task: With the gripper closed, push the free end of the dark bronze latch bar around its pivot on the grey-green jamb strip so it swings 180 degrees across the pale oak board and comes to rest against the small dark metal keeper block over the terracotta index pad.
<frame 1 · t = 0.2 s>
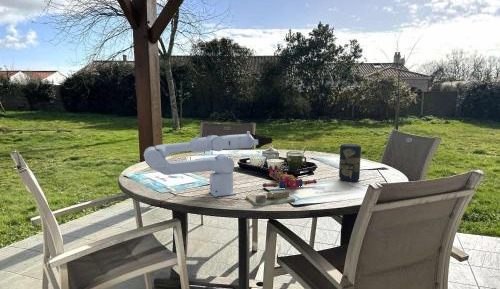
hand: (268, 139, 153), 22 cm above the table, tool horizontal, fingers open, 7 cm apart
toy: (283, 184, 166), on the table
swing latch: (277, 194, 139), point 3 cm above the table, hinge at 0.0°
door board: (268, 198, 143), on the table
canister: (349, 180, 173), on the table
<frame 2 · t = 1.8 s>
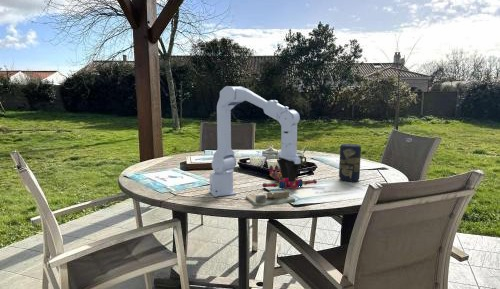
hand: (288, 179, 134), 9 cm above the table, tool pointing down, fingers open, 5 cm apart
nothing on the table moved.
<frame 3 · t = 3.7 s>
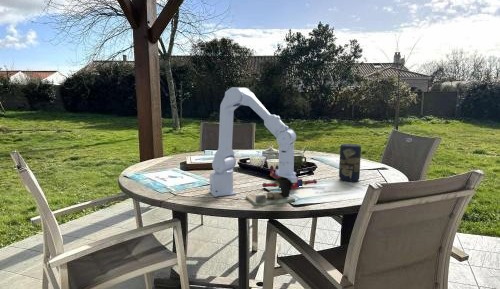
hand: (285, 196, 138), 2 cm above the table, tool pointing down, fingers closed, pressing on swing latch
swing latch: (277, 194, 139), point 3 cm above the table, hinge at 0.0°, touching gripper
everything else where it was.
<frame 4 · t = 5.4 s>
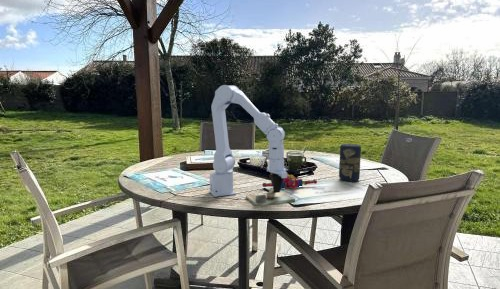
hand: (277, 192, 143), 2 cm above the table, tool pointing down, fingers closed, pressing on swing latch
swing latch: (271, 192, 141), point 3 cm above the table, hinge at 58.0°, touching gripper
everything else where it was.
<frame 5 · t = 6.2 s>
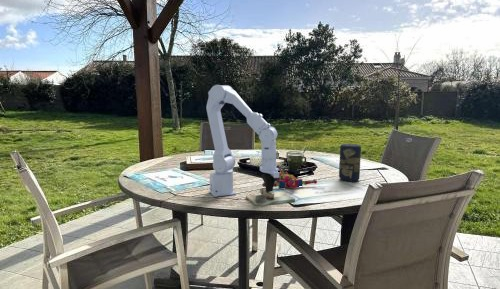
hand: (269, 192, 143), 2 cm above the table, tool pointing down, fingers closed, pressing on swing latch
swing latch: (267, 192, 141), point 3 cm above the table, hinge at 91.2°, touching gripper
everything else where it was.
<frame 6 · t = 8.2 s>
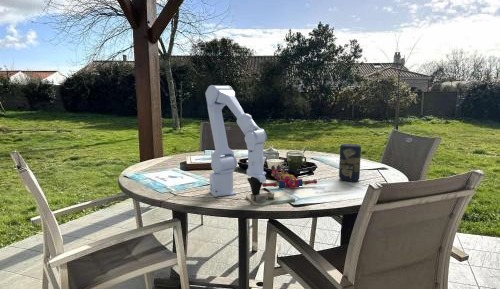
hand: (255, 196, 138), 2 cm above the table, tool pointing down, fingers closed, pressing on swing latch
swing latch: (262, 195, 137), point 3 cm above the table, hinge at 177.3°, touching gripper
everything else where it was.
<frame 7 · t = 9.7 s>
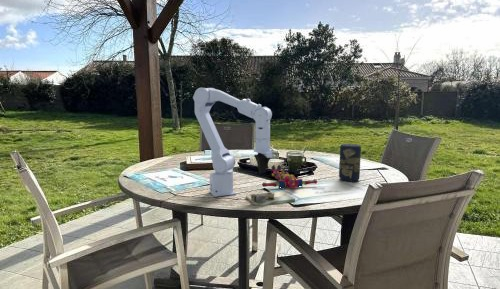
hand: (262, 172, 143), 10 cm above the table, tool pointing down, fingers closed
swing latch: (263, 195, 137), point 3 cm above the table, hinge at 180.9°
everything else where it was.
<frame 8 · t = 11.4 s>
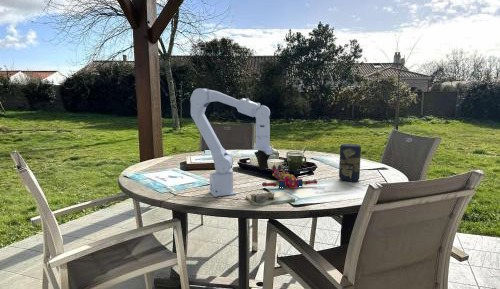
hand: (262, 169, 147), 10 cm above the table, tool pointing down, fingers closed
at the end: swing latch at +181° (first picture: +0°) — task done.
